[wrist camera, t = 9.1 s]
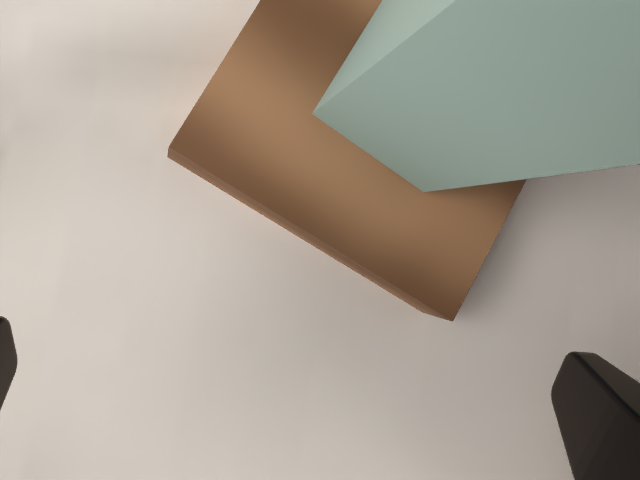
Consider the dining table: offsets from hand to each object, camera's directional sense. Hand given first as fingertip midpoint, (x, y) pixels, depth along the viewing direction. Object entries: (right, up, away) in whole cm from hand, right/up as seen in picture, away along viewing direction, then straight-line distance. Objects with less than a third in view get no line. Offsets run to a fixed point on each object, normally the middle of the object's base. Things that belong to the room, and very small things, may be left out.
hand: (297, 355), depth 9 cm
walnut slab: (+2, +7, +14) cm, 16 cm away
